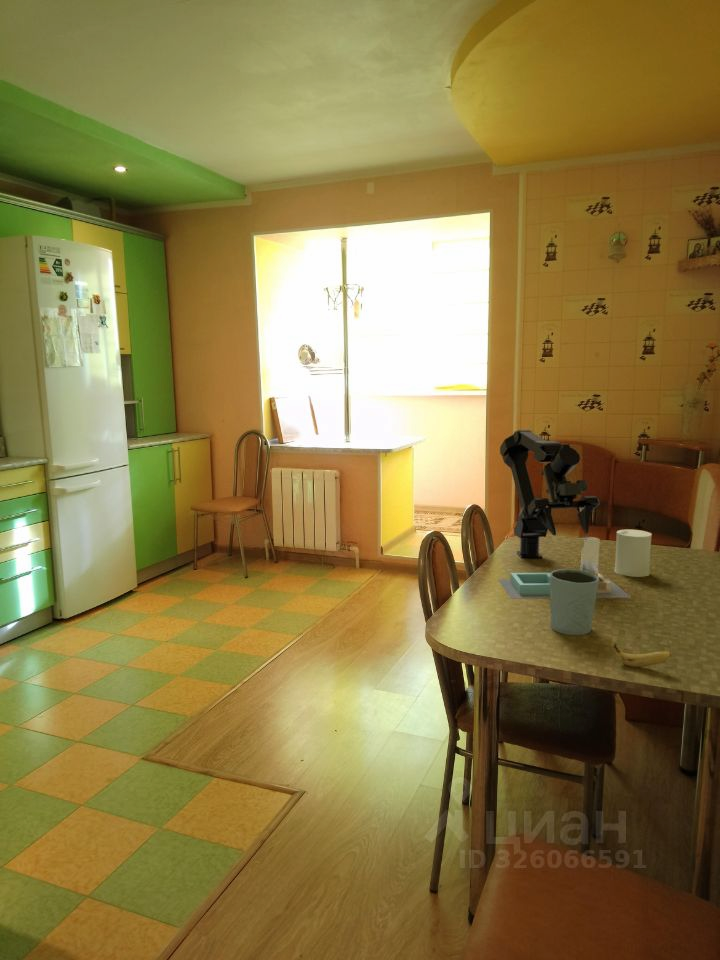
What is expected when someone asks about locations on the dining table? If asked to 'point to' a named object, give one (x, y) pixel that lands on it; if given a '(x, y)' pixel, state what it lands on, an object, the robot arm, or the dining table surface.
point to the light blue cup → (572, 601)
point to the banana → (642, 658)
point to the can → (633, 553)
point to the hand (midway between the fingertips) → (570, 534)
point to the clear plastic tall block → (590, 555)
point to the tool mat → (513, 593)
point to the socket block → (603, 585)
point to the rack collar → (531, 583)
